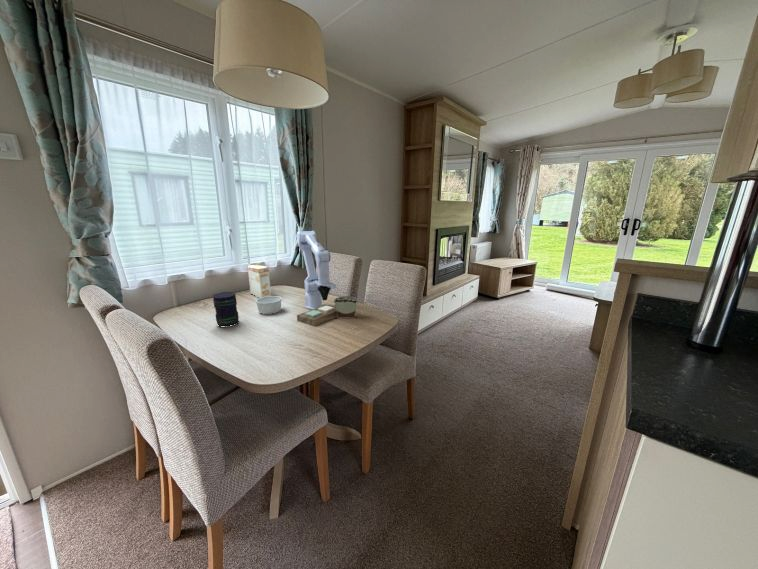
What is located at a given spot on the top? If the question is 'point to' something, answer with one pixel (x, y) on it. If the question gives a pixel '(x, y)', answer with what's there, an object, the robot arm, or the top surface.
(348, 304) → the food container
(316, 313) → the sage key
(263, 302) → the ramekin
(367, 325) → the top surface
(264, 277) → the coffeecake box
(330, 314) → the key console
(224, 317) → the storage jar
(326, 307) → the cream key
